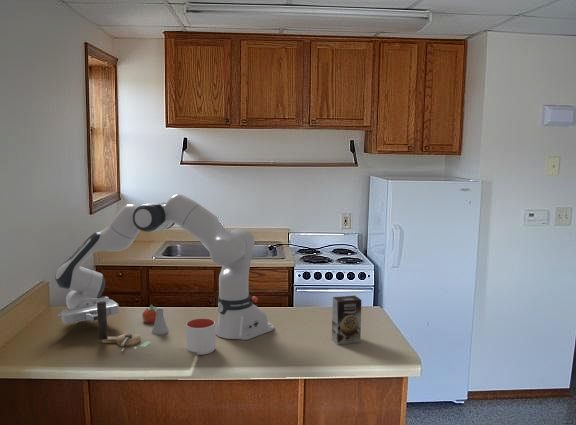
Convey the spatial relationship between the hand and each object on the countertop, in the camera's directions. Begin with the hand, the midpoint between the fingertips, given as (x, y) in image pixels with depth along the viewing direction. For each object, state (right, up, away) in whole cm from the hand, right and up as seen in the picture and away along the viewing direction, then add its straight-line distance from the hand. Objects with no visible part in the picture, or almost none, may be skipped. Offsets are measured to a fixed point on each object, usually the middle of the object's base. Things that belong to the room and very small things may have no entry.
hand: (96, 318), depth 192 cm
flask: (+21, -8, +7) cm, 24 cm away
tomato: (+15, -6, +19) cm, 25 cm away
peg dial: (+9, -8, -5) cm, 13 cm away
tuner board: (+10, -9, -3) cm, 14 cm away
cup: (+39, -10, -7) cm, 41 cm away
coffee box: (+91, -9, +2) cm, 91 cm away
